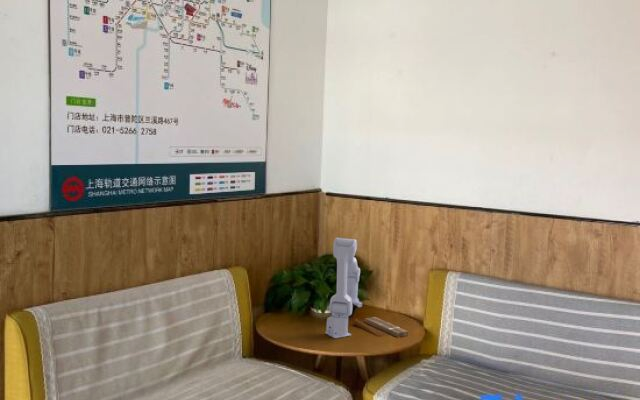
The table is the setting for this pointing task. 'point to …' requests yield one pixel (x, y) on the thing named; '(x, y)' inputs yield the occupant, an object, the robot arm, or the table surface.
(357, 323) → the primitive tool
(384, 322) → the walnut plank
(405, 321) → the table surface
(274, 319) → the table surface
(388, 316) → the table surface
